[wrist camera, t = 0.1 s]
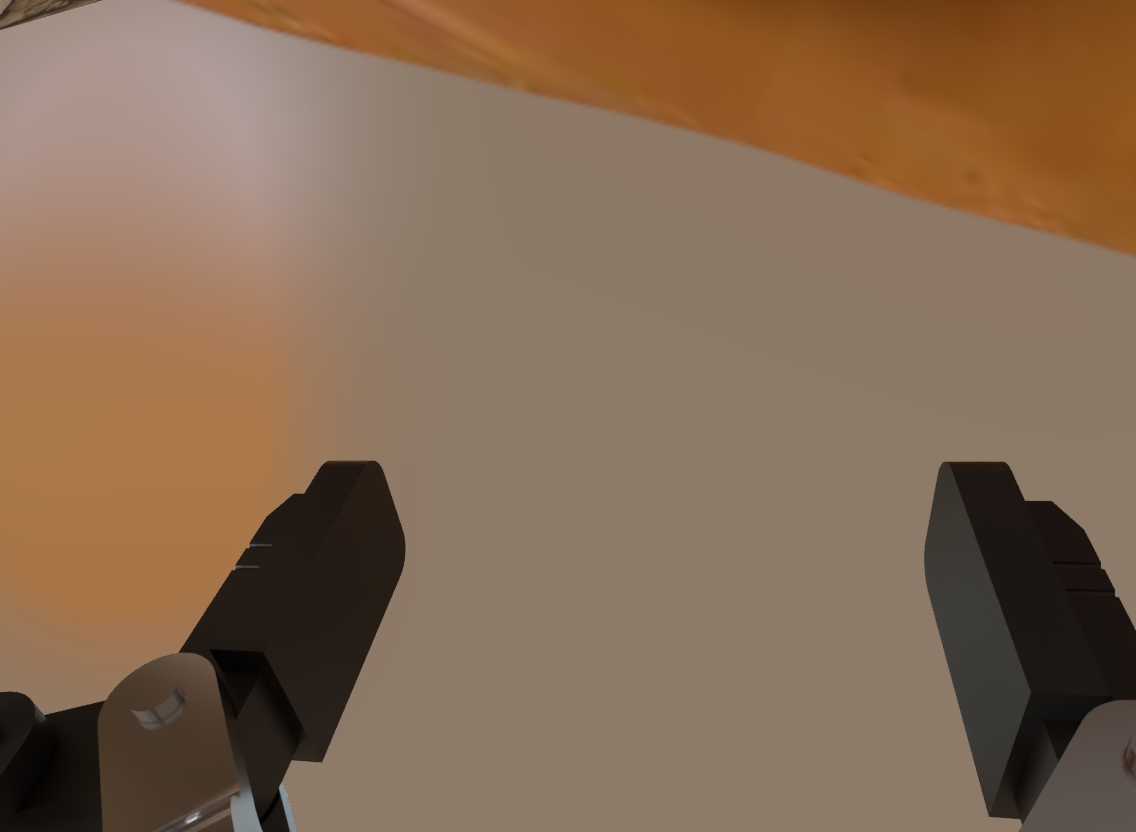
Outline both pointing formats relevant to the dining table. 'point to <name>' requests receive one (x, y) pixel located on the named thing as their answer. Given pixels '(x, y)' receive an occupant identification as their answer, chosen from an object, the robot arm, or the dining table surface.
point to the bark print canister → (34, 10)
